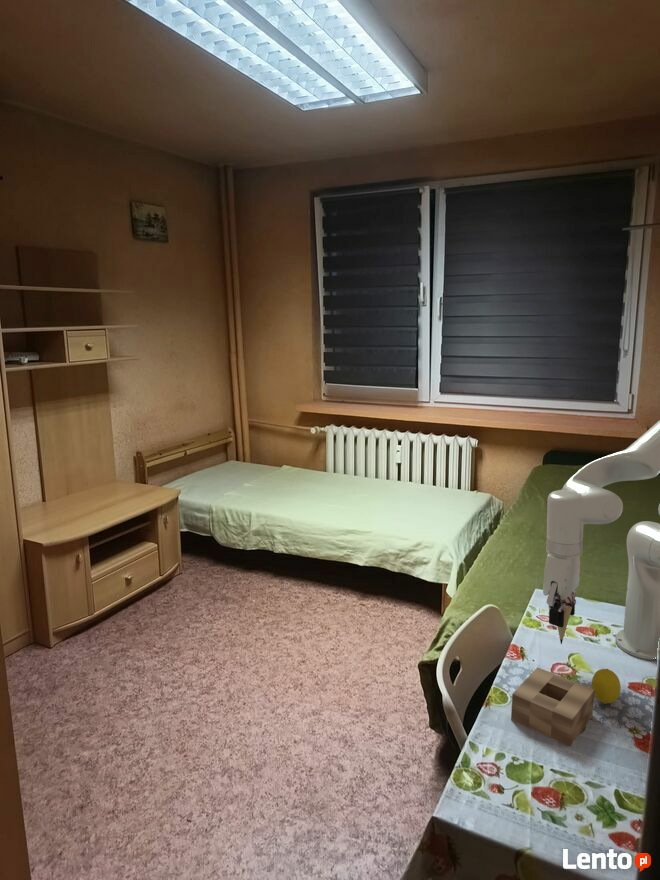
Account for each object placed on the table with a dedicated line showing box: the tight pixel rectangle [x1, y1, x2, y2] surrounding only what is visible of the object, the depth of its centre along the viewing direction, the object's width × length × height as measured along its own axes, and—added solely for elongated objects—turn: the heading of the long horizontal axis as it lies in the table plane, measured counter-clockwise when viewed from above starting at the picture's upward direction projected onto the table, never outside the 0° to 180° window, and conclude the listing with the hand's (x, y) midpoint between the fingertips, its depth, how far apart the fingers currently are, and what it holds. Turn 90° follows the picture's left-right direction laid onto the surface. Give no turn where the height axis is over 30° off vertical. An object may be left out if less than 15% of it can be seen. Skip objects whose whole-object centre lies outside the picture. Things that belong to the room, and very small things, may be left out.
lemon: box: [591, 668, 621, 705], centre depth 126 cm, size 6×6×8 cm
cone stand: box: [510, 666, 595, 748], centre depth 122 cm, size 12×12×6 cm
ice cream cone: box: [555, 592, 577, 645], centre depth 138 cm, size 6×6×15 cm
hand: (561, 618), depth 138 cm, fingers closed on ice cream cone, 5 cm apart
